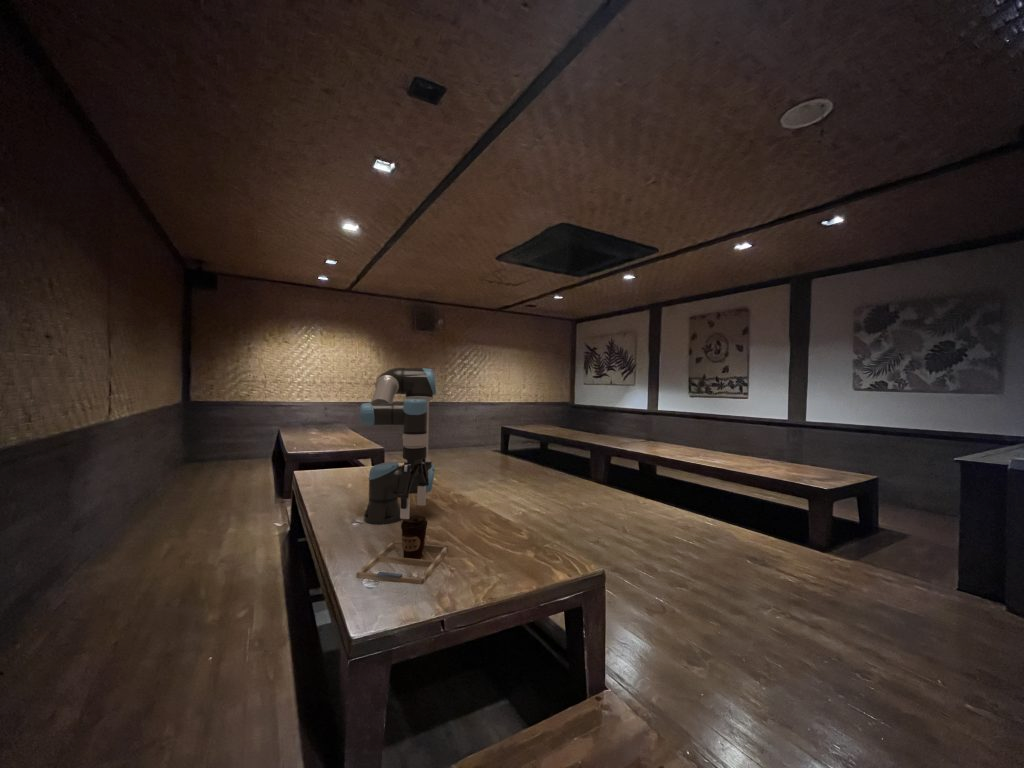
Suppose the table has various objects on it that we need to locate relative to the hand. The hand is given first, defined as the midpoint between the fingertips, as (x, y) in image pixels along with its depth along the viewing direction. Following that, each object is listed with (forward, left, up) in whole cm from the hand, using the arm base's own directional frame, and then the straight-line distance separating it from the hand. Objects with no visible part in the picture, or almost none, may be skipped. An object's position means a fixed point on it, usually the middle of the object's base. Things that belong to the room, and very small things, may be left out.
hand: (413, 511), depth 128 cm
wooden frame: (+5, 0, -15) cm, 16 cm away
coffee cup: (0, 0, -15) cm, 15 cm away
